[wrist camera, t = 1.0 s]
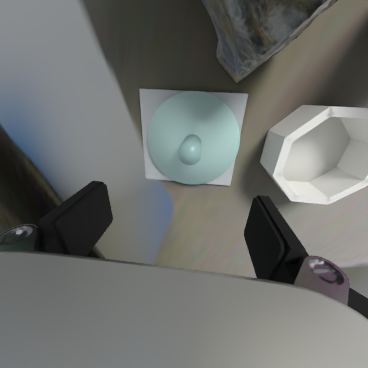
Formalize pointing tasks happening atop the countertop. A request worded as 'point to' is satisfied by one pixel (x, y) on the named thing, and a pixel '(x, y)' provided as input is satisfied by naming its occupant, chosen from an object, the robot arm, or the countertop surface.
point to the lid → (193, 137)
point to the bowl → (318, 153)
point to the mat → (151, 103)
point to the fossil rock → (258, 29)
